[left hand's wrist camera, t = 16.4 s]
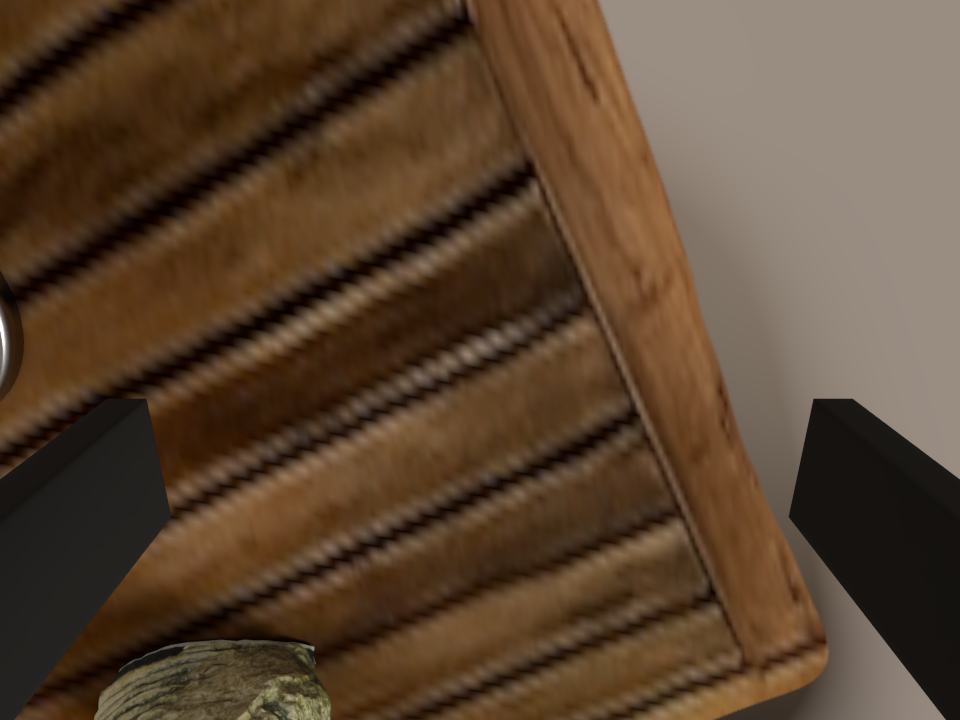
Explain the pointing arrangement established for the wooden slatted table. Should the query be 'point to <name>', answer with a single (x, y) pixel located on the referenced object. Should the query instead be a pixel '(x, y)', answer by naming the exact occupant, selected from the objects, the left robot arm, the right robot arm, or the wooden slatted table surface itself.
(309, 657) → the fossil
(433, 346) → the wooden slatted table surface
